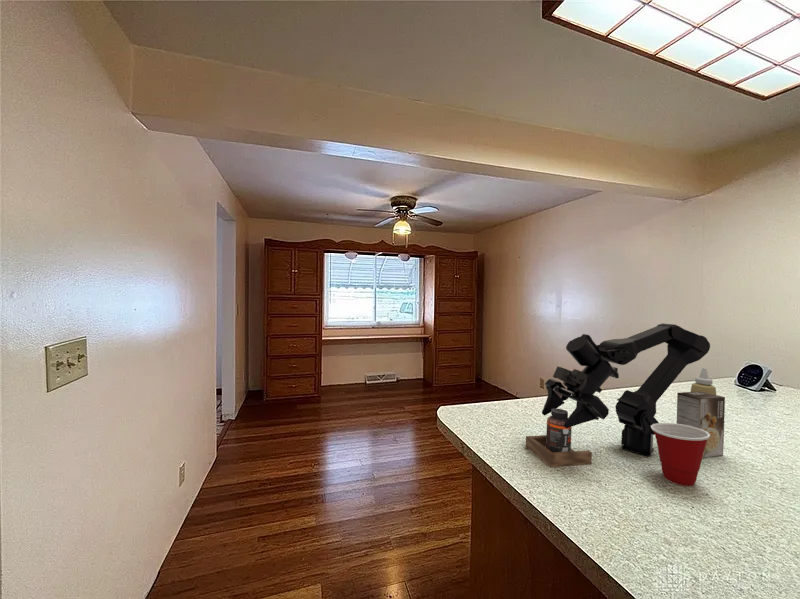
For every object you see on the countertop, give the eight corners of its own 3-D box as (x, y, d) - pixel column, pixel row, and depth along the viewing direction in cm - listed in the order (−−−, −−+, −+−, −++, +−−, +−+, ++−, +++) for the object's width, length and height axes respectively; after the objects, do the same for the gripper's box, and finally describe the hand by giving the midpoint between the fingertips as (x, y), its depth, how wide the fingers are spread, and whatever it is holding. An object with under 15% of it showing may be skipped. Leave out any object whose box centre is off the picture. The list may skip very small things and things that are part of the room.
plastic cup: (650, 463, 88) (652, 416, 88) (706, 478, 81) (708, 428, 81) (647, 480, 80) (648, 428, 80) (709, 498, 73) (712, 442, 73)
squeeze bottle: (723, 423, 120) (726, 371, 120) (700, 422, 120) (702, 370, 120) (703, 415, 128) (705, 366, 128) (681, 414, 128) (683, 366, 128)
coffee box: (698, 445, 100) (700, 390, 100) (724, 455, 94) (726, 397, 94) (674, 448, 98) (676, 392, 98) (699, 458, 92) (701, 398, 92)
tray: (562, 444, 98) (562, 434, 98) (591, 464, 87) (591, 452, 87) (525, 446, 96) (525, 436, 96) (550, 467, 85) (551, 455, 85)
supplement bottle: (572, 460, 87) (574, 415, 87) (547, 456, 89) (548, 412, 89) (568, 450, 93) (569, 408, 93) (544, 446, 95) (545, 405, 95)
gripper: (551, 351, 101) (515, 389, 99) (600, 363, 83) (557, 411, 81) (574, 377, 102) (539, 415, 101) (627, 395, 84) (585, 443, 82)
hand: (553, 420), depth 91 cm, fingers open, 9 cm apart
